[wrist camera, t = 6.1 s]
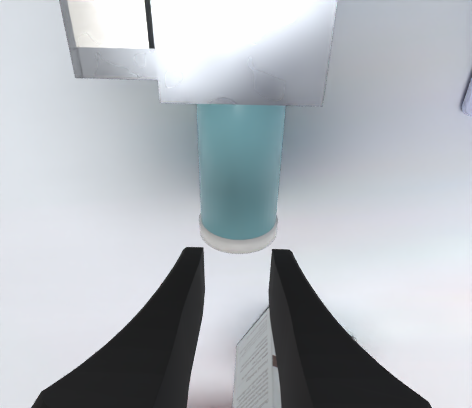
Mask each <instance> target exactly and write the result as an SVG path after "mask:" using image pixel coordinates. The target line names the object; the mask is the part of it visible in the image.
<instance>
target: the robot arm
mask: <svg viewBox="0 0 472 408" xmlns="http://www.w3.org/2000/svg"><path fill="white" fill-rule="evenodd" d="M462 111H463V112H464V113H465V114H466V115H468V116H472V78H471V81H470V84H469V87H468V90H467V93H466V96H465V99H464V102H463V105H462ZM204 295H205V278H204V252H203V248H202V247H186V248H185V249H183V251H182V253H181V255H180V257H179V259H178V260H177V262H176V264H175V265H174V267H173V268H172V270H171V271H170V273H169V274H168V276H167V277H166V279H165V280H164V281H163V283H162V284H161V286H160V287H159V288H158V290H157V291H156V292H155V293H154V295H153V296H152V297H151V298H150V300H149V301H148V302H147V303H146V305H145V306H144V307H143V308H142V309H141V310H140V311H139V313H138V314H137V315H136V316H135V317H134V318H133V319H132V320H131V321H130V322H129V323H128V324H127V325H126V326H125V327H124V328H123V329H122V330H121V331H120V332H119V333H118V334H117V335H116V336H115V337H114V338H112V339H111V340H110V341H109V342H108V343H107V344H106V345H105V346H103V347H102V348H101V349H100V350H99V351H97V352H96V353H95V354H94V355H92V356H91V357H90V358H89V359H87V360H86V361H85V362H83V363H82V364H81V365H80V366H78V367H77V368H76V369H74V370H73V371H72V372H70V373H69V374H67V375H66V376H64V377H63V378H61V379H60V380H58V381H57V382H55V383H54V384H52V385H51V386H49V387H48V388H46V389H45V390H43V391H42V392H41V393H40V395H39V396H38V398H37V399H36V401H35V403H34V404H33V406H32V407H31V408H187V399H188V390H189V382H190V376H191V370H192V365H193V361H194V356H195V351H196V346H197V341H198V336H199V331H200V326H201V321H202V316H203V306H204ZM269 312H270V322H271V329H272V335H273V342H274V348H275V355H276V361H277V368H278V374H279V382H280V394H281V408H432V407H431V405H430V404H429V402H428V401H427V400H425V399H424V398H423V397H421V396H420V395H418V394H417V393H416V392H414V391H413V390H412V389H410V388H409V387H408V386H406V385H405V384H403V383H402V382H401V381H399V380H398V379H397V378H396V377H394V376H393V375H392V374H391V373H390V372H388V371H387V370H386V369H385V368H383V367H382V366H381V365H380V364H379V363H378V362H377V361H376V360H375V359H374V358H372V357H371V356H370V355H369V354H368V353H367V352H366V351H365V350H364V349H363V348H362V347H361V346H360V345H359V344H358V343H357V342H356V341H355V340H354V339H353V338H352V337H351V336H350V335H349V334H348V333H347V332H346V331H345V330H344V328H343V327H342V326H341V325H340V324H339V323H338V322H337V320H336V319H335V318H334V317H333V316H332V314H331V313H330V312H329V311H328V309H327V308H326V307H325V305H324V304H323V303H322V301H321V300H320V298H319V297H318V296H317V294H316V293H315V291H314V290H313V288H312V287H311V285H310V284H309V282H308V281H307V279H306V277H305V276H304V274H303V272H302V271H301V269H300V267H299V265H298V263H297V261H296V260H295V258H294V255H293V253H292V252H291V251H290V250H284V249H272V257H271V269H270V281H269Z"/></svg>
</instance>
